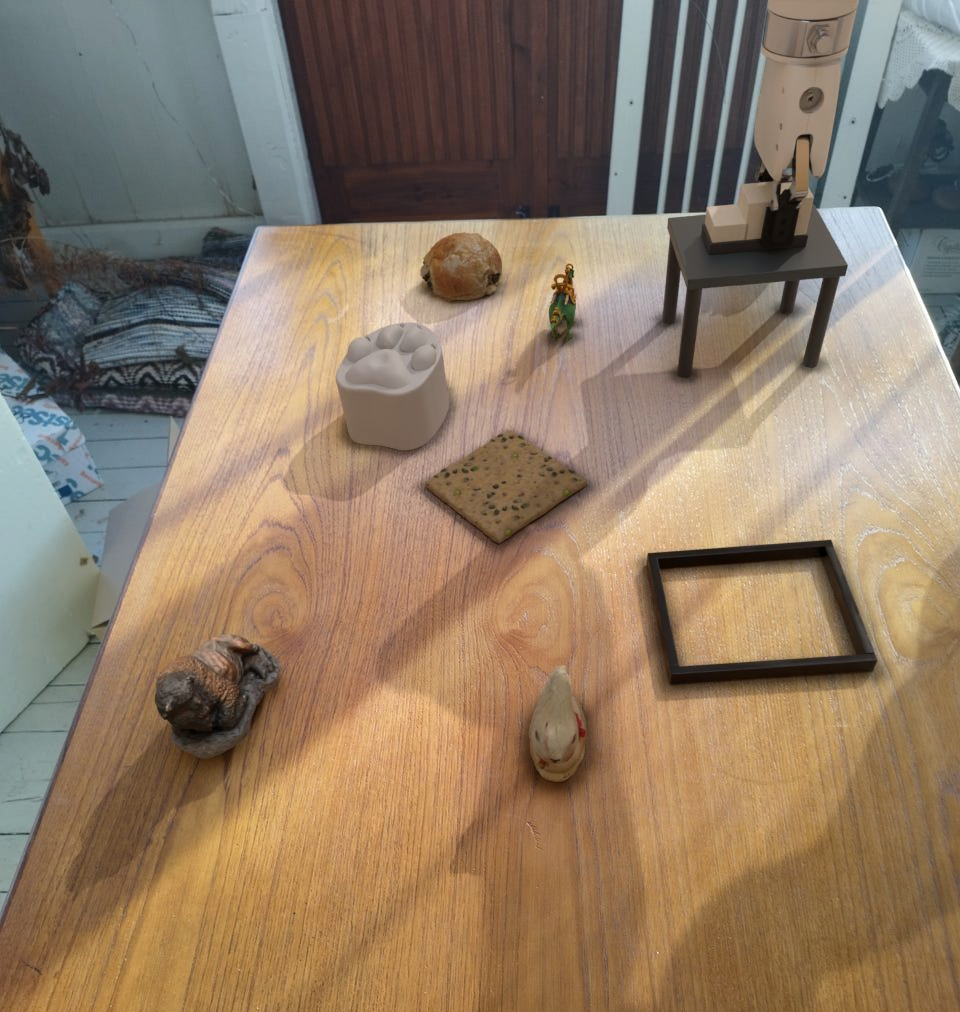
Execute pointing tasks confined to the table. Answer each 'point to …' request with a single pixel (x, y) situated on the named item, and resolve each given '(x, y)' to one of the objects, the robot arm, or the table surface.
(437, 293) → the bread roll
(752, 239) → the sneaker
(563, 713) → the chocolate bunny
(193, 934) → the table surface
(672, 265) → the small grey table
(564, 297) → the figurine
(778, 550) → the black rectangular frame
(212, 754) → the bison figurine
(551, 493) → the cookie
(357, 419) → the lumpy-topped squat cylinder
